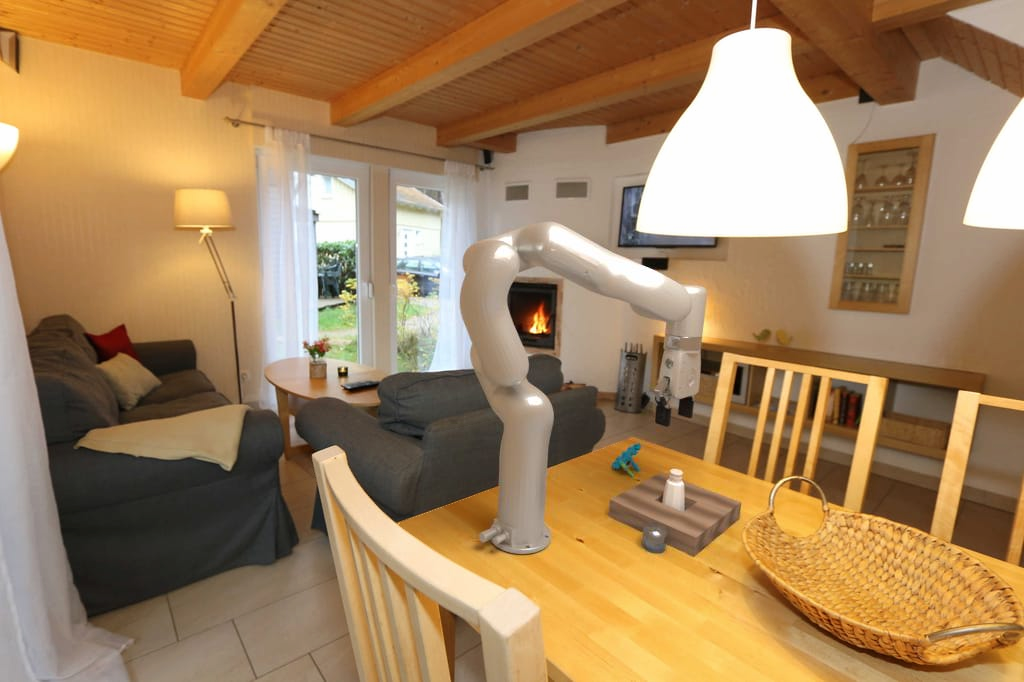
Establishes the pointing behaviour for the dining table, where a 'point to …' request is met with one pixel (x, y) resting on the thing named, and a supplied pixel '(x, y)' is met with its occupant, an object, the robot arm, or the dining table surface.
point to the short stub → (654, 538)
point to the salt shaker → (674, 490)
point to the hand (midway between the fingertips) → (673, 420)
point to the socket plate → (677, 513)
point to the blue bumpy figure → (627, 459)
